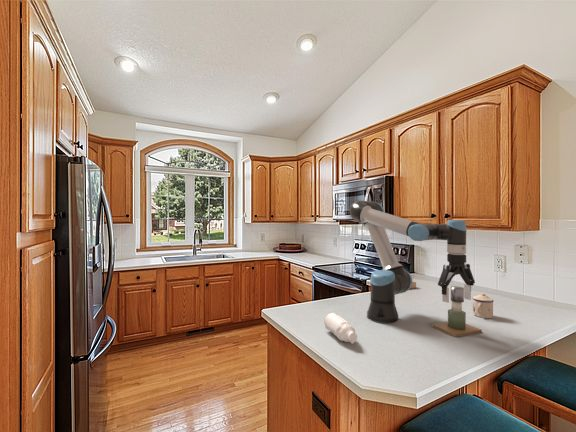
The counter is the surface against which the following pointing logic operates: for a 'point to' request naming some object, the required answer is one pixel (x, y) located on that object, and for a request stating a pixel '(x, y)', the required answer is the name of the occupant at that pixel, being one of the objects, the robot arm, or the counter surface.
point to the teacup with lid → (483, 306)
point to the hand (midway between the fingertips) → (456, 300)
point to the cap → (457, 294)
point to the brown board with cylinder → (457, 322)
